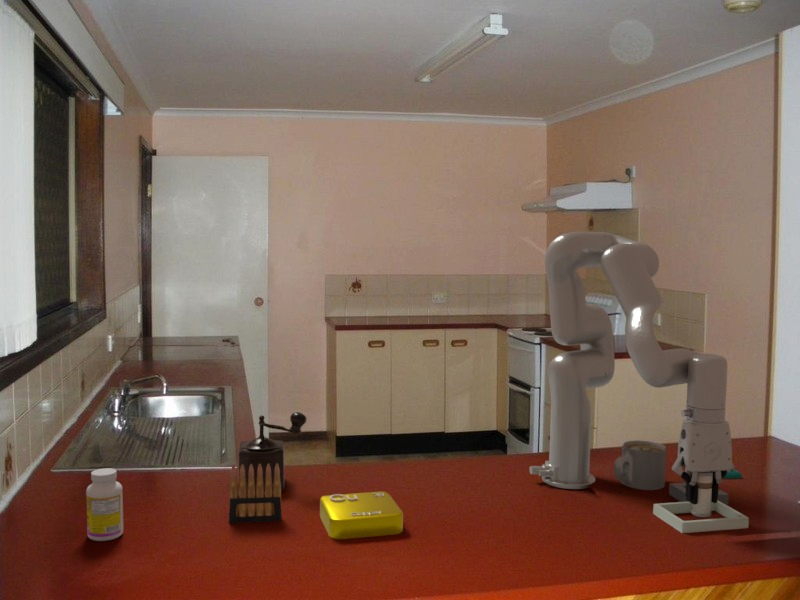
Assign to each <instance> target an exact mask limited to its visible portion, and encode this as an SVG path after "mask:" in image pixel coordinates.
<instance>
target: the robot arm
mask: <svg viewBox="0 0 800 600" xmlns="http://www.w3.org/2000/svg"><path fill="white" fill-rule="evenodd" d="M546 249H547V250H546V251H545V255H544V270H545V276H546V281H547V286H548V302H549V316H550V317H549V319H550V328H551V336H552V338H553V340H554V341H555V342H556V343H557V344H559V345H561V346H579V348H580V349H578V350H577V349H576V350H571V351H565V352H561V353H558V354H557V355H556V356H554V357H553V358H552V360H550V362H549V364H548V367H547V379H548V384H549V386H548V387H549V392H550V422H549V423H550V427H549V452H548V453H549V456H548V460H544V461H545V462H544V464H542V465H539V466H538V465H530V466H529V469H528V470H529V473H530V475H538V477H541V480H542V481H543V482H544V483H545V484H546V485H549V486H551V487H554V488H560V489H566V490H584V489H588V488H589V489H590V486H589V485H592V484H595V482H596V477H595V476H594V475H593V474H591V473H590V463H591V462H590V460H591V437H592V436H591V432H592V431H591V430H592V429H591V428H592V407H591V402H590V400H589V397H588V394H587V390H592V389H597V388H601V387H604V386H606V385H607V384H609V383H610V382H611V381H612V379H613V377H614V375H615V374H614V373H615V366H616V365H615V364H616V363H615V349H614V334H613V326H612V325H613V324H612V321H611V317H610V316H609V313H608V312H607V311H606V310H605V308H603V307H601V306H599V305H598V304H593V303H590V304H587V299H586V288H585V284H584V281H583V279H582V277H581V275H580V274H579V272H578V270H579V269H585V268H586V269H588V268H592V269H594V268H601V269H602V272H603V273H604V276H605V278H606V279H607V282H608V284H609V286H610V287H611V289H612V292H613V293H614V295H615V297H616V299H617V301H618V303H619V305H620V308H621V309H622V311H623V313H624V315H625V319H626V320H625V323H624V324H625V325H624V336H625V345H626V350H627V353H628V355H629V357H630V359H631V361H632V363H633V366H634V367H635V369H636V371H637V373H638V374H639V376H640V377H641V379H642V380H643V381H644V382H645V383H646V384H648V385H649V386H651V387H653V388H661V389H662V388H665V387H667V388H668V387H671V386H678V385H684V384H686V385H687V386H686V405H685V409H682V410H681V412H680V414H681V416H682V417H685V419H683V420H682V424H681V427H680V431H679V432H680V433H679V436H678V445H677V458H676V459H675V460H674V463H673V464H672V466H671V471H673V472H674V473H675V474H676V475H678V476H679V477H681V479H682V480H683V482H684V483H686V493H685V496H686V500H687V501H689V502H690V503H692V504H694V505H695V504H697V503H698V486H697V485H696V480H697V475H698V472H712V471H713V478H712V481H713V484H712V500H711V502H713V503H717V497H718V489H719V487H720V486H719V485H720V484H722V482H723V478H724V477H725V475H726V474H727V473H728V472H730V471H731V470H732V469H735V465H734V462H733V458H732V457H733V447H732V445H733V443H732V436H731V428H730V423H729V422H728V421H727V420H726V404H727V383H728V381H727V380H728V360H727V359H726V358H725V357H724V356H722V355H719V354H714V353H701V352H699V351H698V352H697V351H695V350H691V349H688V348H671V349H665V350H663V349H662V348H661V346H660V344H659V342H658V340H657V338H656V335H655V333H654V328H653V320H654V316H655V314H656V312H658V311H659V309H660V308H661V307H662V305H663V303H664V302H663V298H662V296H661V294H660V292H659V290H658V288H657V285H655V283H654V281H653V277H655V275H656V274H657V273H658V271H659V268H660V259H659V256H658V254H657V252H656V251H655V249H654V248H653V247H652V246H650V245H648V244H646V243H644V242H641V241H638V240H633V239H630V238H627V237H625V236H621V235H619V234H615V233H611V232H607V231H570V232H566V233H563V234H562V233H561V234H560V235H558V236H557V237H556V238H554V239H553V240H552V241H551V242H550V243H549V245H548V248H546ZM684 467H685V468H684ZM683 468H684V469H683Z"/></svg>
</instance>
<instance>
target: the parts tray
mask: <svg viewBox="0 0 800 600" xmlns="http://www.w3.org/2000/svg"><path fill="white" fill-rule="evenodd" d="M691 508H692V503H690V502H680V501H675V502H664V503H663V502H660V503H653V508H652V514H653V515H655V516H656V518H658V519H660V520H662V522H665V523H666V524H667V525H669V526H671V527H672V528H674V529H675V530H676V531H677V532H679V533H681V534H687V533H688V534H689V533H700V532H701V533H702V532H713V531H725V530H726V531H727V530H740V529H742V530H743V529H748V528H749V523H750V520H749V519H750V517H748V516H747V515H745V514H743V513H741V512H739V511H738V510H736V509H734V508H732V507H731V506H729V505H728V506H727V505H725V504H724V503H722V502H720V501H718V500H717V503H713V502H711V512H714V511H715V512H716V513H718V514H720V515H721V516H723V517H722V518H721V517H720V518H719V517H718V518H708V519H705V518H704V519H695V520H693V519H691V520H683V519H681V518H680V517H679V516H677V514H688V513H691ZM675 514H676V515H675Z"/></svg>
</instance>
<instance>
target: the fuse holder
mask: <svg viewBox="0 0 800 600" xmlns="http://www.w3.org/2000/svg"><path fill="white" fill-rule="evenodd" d="M685 493H686V482H675V483H669V486H668V495H669V496H670V497H672V498H674V499H675V500H677V501H678V502H689V501H687V500H686V496H685ZM729 496H730V494H729V493H727V492H725V491H724V490H721V489H719V488H718V497H717V500H718V501H720V502H722V503H724V504H725V505H727V506H729Z"/></svg>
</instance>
